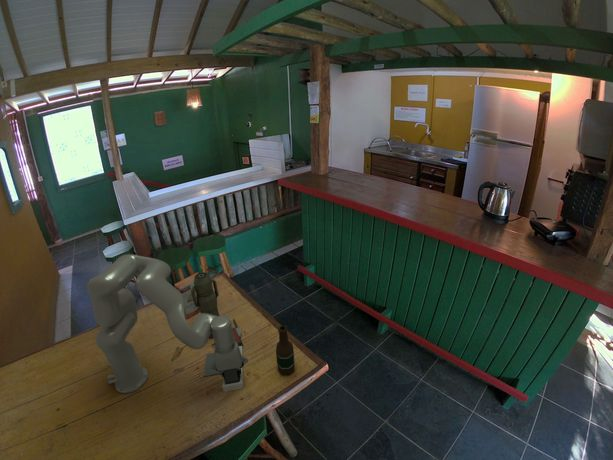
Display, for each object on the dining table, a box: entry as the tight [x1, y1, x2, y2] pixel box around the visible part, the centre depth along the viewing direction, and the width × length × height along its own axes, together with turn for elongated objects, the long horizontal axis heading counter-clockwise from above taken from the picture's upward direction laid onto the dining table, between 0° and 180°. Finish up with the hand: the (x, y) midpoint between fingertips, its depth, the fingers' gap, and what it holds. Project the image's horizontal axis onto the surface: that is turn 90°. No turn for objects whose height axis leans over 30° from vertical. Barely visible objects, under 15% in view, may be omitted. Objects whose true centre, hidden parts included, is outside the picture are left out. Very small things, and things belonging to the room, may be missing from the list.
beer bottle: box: [275, 325, 296, 376], centre depth 132 cm, size 8×8×24 cm
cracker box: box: [173, 272, 201, 320], centre depth 169 cm, size 14×6×21 cm, turn 139°
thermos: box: [191, 271, 220, 340], centre depth 150 cm, size 9×12×35 cm
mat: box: [203, 352, 222, 378], centre depth 141 cm, size 8×12×1 cm, turn 11°
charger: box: [224, 368, 239, 384], centre depth 130 cm, size 5×5×8 cm
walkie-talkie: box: [232, 318, 244, 348], centre depth 155 cm, size 9×4×20 cm
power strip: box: [221, 346, 244, 393], centre depth 136 cm, size 8×20×8 cm, turn 11°
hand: (232, 375), depth 131 cm, fingers closed on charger, 5 cm apart
